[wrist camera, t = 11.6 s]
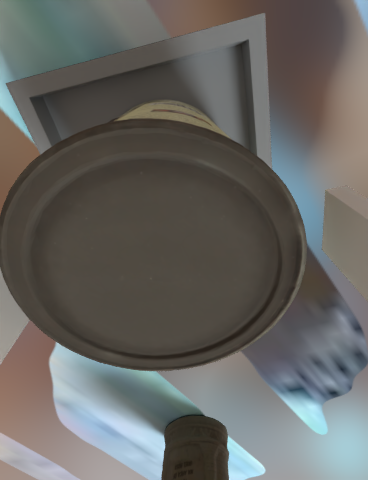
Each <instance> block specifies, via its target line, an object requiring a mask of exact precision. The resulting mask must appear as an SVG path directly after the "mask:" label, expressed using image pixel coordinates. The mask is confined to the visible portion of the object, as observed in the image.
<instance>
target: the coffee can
mask: <svg viewBox="0 0 368 480" xmlns="http://www.w3.org/2000/svg"><path fill="white" fill-rule="evenodd" d="M306 256H307V241H306V233H305V228H304V224H303V220H302V218H301V215H300V212H299V209H298V207H297V204H296V202H295V200H294V198H293V196H292V195H291V193H290V191H289V190H288V188H287V186H286V185H285V184H284V183H283V181H282V180H281V179H280V178H279V176H278V175H277V174H276V173H275V172H274V171H273V170H272V169H271V168H270V167H269V166H268V165H267V164H266V163H265V162H264V161H263V160H262V159H260V158H259V157H258V156H256V155H255V154H254V153H252V152H251V151H249V150H248V149H247V148H245V147H244V146H242V145H241V144H239V143H237V142H235V141H234V140H232V139H231V138H230V137H229V136H227V135H226V134H225V133H224V132H223V131H222V130H221V129H220V128H219V127H218V126H216V125H215V123H214V122H213V121H212V120H211V119H210V118H209V117H208V116H207V115H206V114H205V113H203V112H202V111H201V110H199V109H197V108H195V107H193V106H191V105H189V104H186V103H183V102H180V101H175V100H153V101H149V102H144V103H142V104H139V105H137V106H135V107H133V108H132V109H130V110H129V111H127V112H126V113H125V114H123V115H121V116H119V117H117V118H115V119H112V120H111V121H109V122H107V123H105V124H101V125H97V126H94V127H91V128H88V129H86V130H83V131H80V132H78V133H76V134H74V135H72V136H70V137H68V138H66V139H64V140H62V141H60V142H58V143H56V144H55V145H53V146H52V147H50V148H49V149H47V150H46V151H45V152H43V153H42V154H41V155H40V156H38V157H37V158H36V159H35V160H33V161H32V162H31V163H30V164H29V165H28V166H27V168H26V169H25V170H24V171H23V172H22V173H21V174H20V176H19V177H18V178H17V180H16V181H15V183H14V184H13V186H12V187H11V189H10V191H9V193H8V196H7V198H6V200H5V202H4V205H3V208H2V212H1V215H0V269H1V272H2V275H3V279H4V281H5V283H6V285H7V287H8V289H9V291H10V293H11V295H12V296H13V298H14V300H15V301H16V303H17V304H18V306H19V307H20V308H21V310H22V311H23V312H24V313H25V315H26V316H27V317H28V318H29V319H30V320H31V321H32V322H33V323H34V324H35V325H36V326H37V327H38V328H39V329H40V330H41V331H43V332H44V333H45V334H46V335H48V336H49V337H50V338H52V339H53V340H55V341H56V342H58V343H59V344H61V345H62V346H64V347H66V348H68V349H69V350H71V351H73V352H75V353H78V354H80V355H82V356H84V357H87V358H89V359H92V360H95V361H97V362H100V363H104V364H108V365H112V366H116V367H121V368H127V369H133V370H141V371H171V370H180V369H187V368H193V367H197V366H202V365H206V364H208V363H212V362H216V361H218V360H221V359H223V358H226V357H228V356H230V355H233V354H235V353H237V352H239V351H241V350H243V349H244V348H246V347H248V346H249V345H251V344H253V343H254V342H255V341H257V340H258V339H259V338H260V337H262V336H263V335H264V334H265V333H267V332H268V331H269V330H270V329H271V328H272V327H273V326H274V325H275V324H276V323H277V322H278V321H279V320H280V318H281V317H282V316H283V315H284V313H285V312H286V311H287V309H288V308H289V306H290V304H291V303H292V301H293V299H294V298H295V296H296V294H297V291H298V289H299V287H300V284H301V281H302V277H303V274H304V270H305V263H306Z"/></svg>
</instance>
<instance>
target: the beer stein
mask: <svg viewBox="0 0 368 480" xmlns="http://www.w3.org/2000/svg"><path fill="white" fill-rule="evenodd" d="M164 438H165V451H164V460H163V471H162V480H229V475H228V459H229V452H228V450H227V439H228V434H227V430H226V427H225V426H224V425H223V424H222V423H221V422H219V421H217V420H215V419H213V418H210V417H206V416H199V415H196V416H186V417H182V418H179V419H177V420H175V421H173V422H172V423H170V424H169V425H168V426H167V428H166V430H165V435H164Z"/></svg>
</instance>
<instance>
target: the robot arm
mask: <svg viewBox="0 0 368 480" xmlns="http://www.w3.org/2000/svg"><path fill="white" fill-rule="evenodd" d="M322 250H323V251H324V252H325V254H326V255H327V256H328V257H329V258H330V259H331V260H332V262H333V263H334V264H335V265H336V266H337V267H338V268H339V270H340V271H341V272H342V273H343V274H344V275H345V276H346V278H347V279H348V280H349V281H350V282H351V283H352V284H353V285H354V286H355V288H356V289H357V290H358V291H359V292H360V294H361V295H362V296H363V297H364V298H365V299H366V300H367V302H368V198H367V197H365V196H363V195H362V194H360V193H358V192H356V191H355V190H353V189H351V188H350V187H348V186H342V187H337V188H332V189H327V190H325V207H324V224H323V241H322ZM29 320H30V319H29V318H28V317H27V316H26V315H25V313H24V312H23V311H22V310H21V308H20V307H19V306H18V304H17V303H16V301H15V300H14V298H13V296H12V295H11V293H10V291H9V289H8V287H7V285H6V283H5V281H4V279H3V275H2V272H1V269H0V364H1V363H2V361H3V359H4V358H5V356H6V355H7V353H8V352H9V350H10V349H11V347H12V345H13V344H14V343H15V341H16V340H17V338H18V337H19V335H20V334H21V332H22V331H23V329H24V328H25V326H26V325H27V323H28V322H29Z"/></svg>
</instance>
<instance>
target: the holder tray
mask: <svg viewBox="0 0 368 480" xmlns="http://www.w3.org/2000/svg"><path fill="white" fill-rule="evenodd" d="M6 85H7V87H8V89H9V91H10V93H11V95H12V97H13V100H14V102H15V104H16V106H17V108H18V110H19V112H20V114H21V116H22V118H23V120H24V122H25V124H26V126H27V128H28V130H29V132H30V134H31V136H32V138H33V140H34V142H35V144H36V146H37V148H38V150H39V153H40V154H42V153H43V152H45V151H46V150H47V149H49V148H50V147H52V146H53V145H55V144H56V143H58V142H60V141H62V140H64V139H66V138H68V137H70V136H72V135H74V134H76V133H78V132H80V131H83V130H86V129H88V128H91V127H94V126H97V125H101V124H105V123H107V122H109V121H111V120H112V119H115V118H117V117H119V116H121V115H123V114H125V113H126V112H127V111H129V110H130V109H132V108H133V107H135V106H137V105H139V104H142V103H144V102H149V101H153V100H175V101H180V102H183V103H186V104H189V105H191V106H193V107H195V108H197V109H199V110H201V111H202V112H203V113H205V114H206V115H207V116H208V117H209V118H210V119H211V120H212V121H213V122H214V123H215V125H216V126H218V127H219V128H220V129H221V130H222V131H223V132H224V133H225V134H226V135H227V136H229V137H230V138H231V139H232V140H234V141H235V142H237V143H239V144H241V145H242V146H244V147H245V148H247V149H248V150H249V151H251V152H252V153H254V154H255V155H256V156H258V157H259V158H260V159H262V160H263V161H264V162H265V163H266V164H267V165H268V166H269V167H270V168H271V169H272V158H271V137H270V136H271V135H270V115H269V114H270V113H269V92H268V68H267V47H266V24H265V13H263V14H259V15H255V16H251V17H248V18H244V19H241V20H237V21H233V22H230V23H226V24H222V25H219V26H215V27H211V28H207V29H204V30H200V31H196V32H193V33H189V34H186V35H182V36H178V37H174V38H171V39H167V40H163V41H159V42H156V43H152V44H148V45H145V46H141V47H137V48H134V49H130V50H126V51H123V52H119V53H115V54H112V55H108V56H104V57H101V58H97V59H93V60H90V61H86V62H82V63H79V64H75V65H71V66H68V67H64V68H60V69H57V70H53V71H49V72H46V73H42V74H38V75H35V76H31V77H27V78H24V79H20V80H16V81H12V82H9V83H6Z"/></svg>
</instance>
